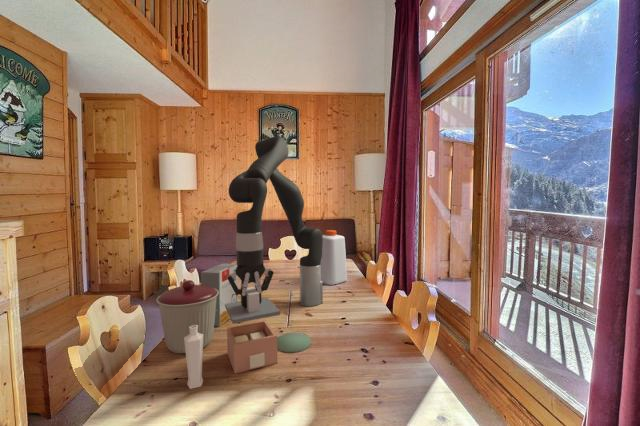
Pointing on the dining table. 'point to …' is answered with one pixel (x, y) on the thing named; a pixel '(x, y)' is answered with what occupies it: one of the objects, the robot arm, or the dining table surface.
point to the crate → (251, 346)
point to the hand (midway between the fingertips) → (251, 305)
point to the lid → (251, 308)
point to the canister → (187, 313)
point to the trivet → (293, 342)
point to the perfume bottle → (194, 357)
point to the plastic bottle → (333, 259)
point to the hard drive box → (221, 289)
